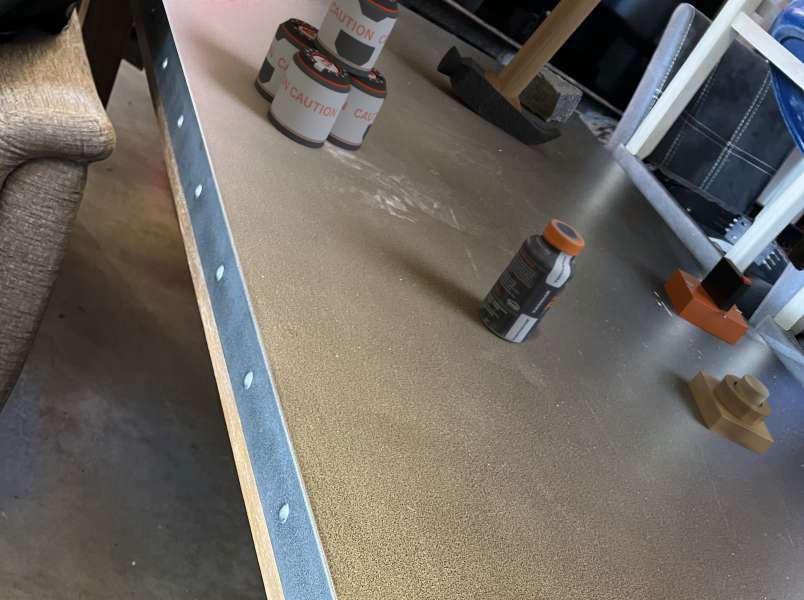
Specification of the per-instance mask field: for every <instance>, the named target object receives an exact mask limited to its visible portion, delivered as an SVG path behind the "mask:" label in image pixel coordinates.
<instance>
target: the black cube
mask: <svg viewBox="0 0 804 600" xmlns="http://www.w3.org/2000/svg"><path fill="white" fill-rule="evenodd" d="M703 278H704V279H703ZM703 278H702V280H701V281H702V282H701V285H702V286H703V287H704V289H705V290H706V291H707V293H708V294H709V295H710V297H711V298H712V299H713V300H714V302H715V303H716V304H717V306H718V307H719V308H720V309H721V310H723V311H726V312H728V311H729V310H730V309H731V308H732V307H733V306H734V305H737V303H738V301H740V299H741V298H742V297H743V296H744V295H745V294H746V293H747V291H748V290H749V289H750V288H751V287H752V284H753V283H752V281H751V280H750V278H749V277H746V276H744V274H743V273H742V271H740V269H739V268H738V266H737V265H736V264H735V263H734V262H733V261H732V259H731V258H728V257H726V256H722V257H721V258H720V260H718V262H716V264H715V265H713V267H712V269H711V270H710V271H709V272H708V273H707V275H706V276H705V277H703Z"/></svg>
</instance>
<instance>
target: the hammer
mask: <svg viewBox="0 0 804 600" xmlns="http://www.w3.org/2000/svg"><path fill="white" fill-rule="evenodd" d="M601 1H602V0H560V1H559V2H558V3H557V5H556V6H555V7H554V8H553V9H552V11H550V13H549V14H548V15H547V16H546V18H545V19H544V20H543V21H542V23H541V24H540V25H539V26H538V28H536V30H535V31H534V32H533V33H532V34H531V36H530V37H529V38H528V39H527V40H526V42H525V43H524V44H523V45H522V46H521V48H519V50H518V51H517V52H516V53H515V54H514V56H513V57H512V58H511V59H510V60H509V62H507V64H506V65H505V66H504V68H502V70H501V72H499V74H498V73H497V72H490V71H489V72H488V71H486V70H485V69H484V68H483V67H482V66H481V65H480V64H479V63H478V62H476V60H474V58H472V57H471V56H470V57H467V56H462V55H461V53H460V52H459V50H458V49H457V47H456V45H452V47H451V46H450V48H449V49H448V50H447V51H446V53H445V54H444V55H443V56H442V58H441V60H440V61H439V63H438V65H437V67H436V72H438V73H440V74H442V75H445V77H448V78H449V82H450V86H451V89H452V92H453V93H454V94H455V95H456V96H457V97H458V98H460V100H462V101H463V102H465V104H466V105H468V106H469V107H470V109H472V110H473V111H474V112H475V113H476V114H478V115H479V116H480V117H481V118H483V119H484V120H486V121H487V122H489V123H491V124H492V125H493V126H496V128H499V129H500V130H502V131H504V132H505V133H506V134H508V135H510V136H512V137H513V138H515V139H516V140H518V141H520V142H522V143H523V144H526V145H530V146H532V145H533V146H538V145H543V144H546V143H548V142H551V141H554V140H556V139H559V138H560V137H562V136H563V133H562V130H561V126H560V122H558V123H557V122H556V123H551V124H550V123H542V122H540V121H539V120H537V119H536V118H535V117H533V115H531V113H530V112H528V111H527V109H525V108H524V106H522V104H521V103H520V101H519V96H518V95H519V94H520V93H521V92H522V91H523V90H524V89H525V87H526V86H527V85H528V84H529V83H530V82H531V80H532V79H533V78H534V77H535V76H536V75H537V74H538V72H539V71H540V70H541V69H542V68H543V67H545V66H546V64H547V63H548V62H549V61H550V60H551V59H552V58H553V57H554V55H555V54H556V53H557V52H558V51H559V49H560V48H561V47H562V46H563V45H564V44H565V43H566V41H567V40H568V39H569V38H570V37H571V35H572V34H573V33H574V32H575V31H576V30H577V29H578V27H579V26H580V25H581V24H582V23H583V22H584V21H585V20H586V18H587V17H589V14H591V13H592V11H593V10H594V9H595V8H596V7H597V6H598V4H599V3H600V2H601Z"/></svg>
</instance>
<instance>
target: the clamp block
mask: <svg viewBox="0 0 804 600" xmlns="http://www.w3.org/2000/svg"><path fill="white" fill-rule="evenodd" d="M704 278H705V277H703V278H702V280H700V279H698V278H696V277H695V276H693V275H692V274H690V273H687V272H686V271H684V270H682V269H681V268H679V267H678V268H677V269H676V270H675V271H674V273H673V274H672V275H671V276H670V278H669V279H668V280H667V281H666V282H665V284H664V285H663V287H664V290H665V292H666V293H667V295H668V297H669V300H670V302H671V304H672V306H673V308H674V310H675V312H676V314H677V316H678V317H679V318H681V319H683V320H685V321H687V322H689V323H691V324H693V325H695V326H697V327H698V328H699V329H702V330H704V331H706V332H708V333H709V334H711V335H713V336H714V337H716V338H719V339H720V340H722V341H724V342H726V343H728V344H729V345H731V346H735V345H736V343H738V341H739V340H741V338H742V337H743V336H744V334H746V332H747V331H749V330H750V328H749V326H748V324H747V322H746V321H745V319H744V317H743V316H742V314H743V312H742V311H740V310H739V308H738V306H737V304H735V305H734V306H733V307H732V308H731V309H730V310H729V311H728V312H726V311H723V310H721V309H720V308H719V307H718V306H717V304H716V303H715V302H714V300H713V299H712V298H711V297H710V295H709V294H708V293H707V291H706V290H705V289H704V287H703V286H702V285H701V282H702V281H703V279H704Z"/></svg>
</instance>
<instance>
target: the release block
mask: <svg viewBox="0 0 804 600" xmlns="http://www.w3.org/2000/svg"><path fill="white" fill-rule="evenodd" d="M741 378H742V377H741ZM741 378H740V377H738V376H737V375H735V374H728V373H727V374H725V375H724V377H723V378H721V380H720V379H718V378H716V377H714V376H712V375H710V374H708V373H707V372H705V371H703V370H699V371H698V372H697V373H696V375H694V377H693V378H692V379H691V380H690V381H689V382H688V383H687V385H688V388H689V390H690V392H691V394H692V396H693V398H694V401H695V403H696V405H697V407H698V409H699V412H700V414H701V416H702V418H703V421H704V422H705V425H706V427H707V429H708V431H710V432H712V433H714V434H716V435H718V436H720V437H722V438H724V439H727V440H728V441H729V442H730V441H731V442H732V443H734V444H737V445H738V446H740V447H743V448H744V449H746V450H748V451H751V452H753V453H755V454H756V455H759V456H762V455H763V454H765V452H766V451H767V450H769V449H770V448H771V447H772V445H774V444H775V441H774V439H773V437H772V435H771V433H770V430H769V429H768V427H767V425H766V423H765V422H764V421H765V420H766V419H767V418H768V417H769V416H770V415H771V413H772V408H771V406H770V404H769V403H768V400H767V398H766V399H765V400H764V401H763V402H762V404H761V405H760V406H759V407H757V406H755V405H753V404H751V403H750V402H749V401H747V400H746V399H745V398H743V397H742V396H741V395H740V393H739V392H738V391H737V390H736V389H735V387H734V386H735V385H736V384H737V383H738V381H739V380H740V379H741Z"/></svg>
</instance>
